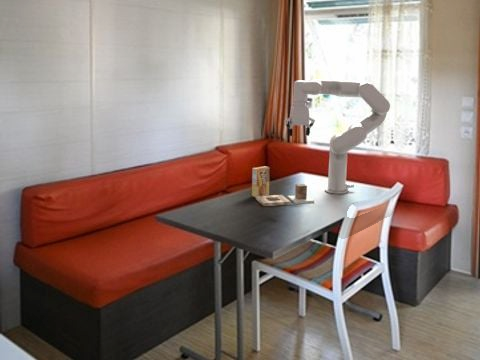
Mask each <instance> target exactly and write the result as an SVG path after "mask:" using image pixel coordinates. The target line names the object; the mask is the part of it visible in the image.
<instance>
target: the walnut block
mask: <svg viewBox="0 0 480 360" xmlns="http://www.w3.org/2000/svg"><path fill="white" fill-rule="evenodd" d="M307 190H308V186H307V184H305V183H296V184H295V190H294V192H295V194H294V195H295V198H297V199H298V200H299V199H306V198H307V196H308V194H307V192H308V191H307Z"/></svg>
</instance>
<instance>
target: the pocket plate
mask: <svg viewBox="0 0 480 360" xmlns="http://www.w3.org/2000/svg"><path fill="white" fill-rule="evenodd" d="M255 200H256V201H257V202H258V203H259V204H261V205H262V207H270V206H271V207H272V206H274V207H276V206H289V205H291V204H292V203H291V202H292V201H291V200H290V199H289V198H286V197H285V196H284V195H283V194H273V195H270V194H269V195H267V196H256V197H255Z"/></svg>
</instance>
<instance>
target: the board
mask: <svg viewBox="0 0 480 360" xmlns="http://www.w3.org/2000/svg"><path fill="white" fill-rule="evenodd" d="M287 199H288V200H289V201H290V202H293V203H294V204H295V205H296V204H312V203H315V200H314V199H312V198H311V197H309V196H308V195H307V198H306V199H299V200H298V199H297V198H295V194H294V195H287Z"/></svg>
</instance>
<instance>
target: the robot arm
mask: <svg viewBox="0 0 480 360" xmlns="http://www.w3.org/2000/svg"><path fill="white" fill-rule="evenodd" d="M308 95H311V96H318V95H329V96H330V95H331V96H335V97H340V98H358V99H359V98H361V99H362V100H363V101H364V102H365V103H366V105H368V106H369V108H371V111H369V113H368V114H367V115H366V116H364V117H363V118H361V119H360V120H358V121H356V122H355V123H353V124H351V125H350V126H348V129H347V130H346V131H345V132H343V133H342V134H341V133H337V134H334V135H333V136H332V137H331V138H330V140H329V161H328V180H327V181H328V182H327V187H325V188H324V191H325V192H326V193H329V194H334V195H335V194H336V195H337V194H338V195H341V194H342V195H343V194H347V193H348V192H349V189H351V188H354V187H355V185H354V183H352V184H351V183H347V165H348V152H349V151H351V150H353V149H354V148H356V147H357V146H360V145H361V144H362V143H363V142H364V141H365V140H366V139H367V137H368V135H369V134H371V133H372V132H373V131H375V130H376V129H378V128H379V127H380V126H381V125H382V124H384V123H383V122H385V120H386V118H387V115H388V112H389V111H390V109H391V104H390V102H389V100H388V99H387V98H386V97H385V96H384V94H382V93H381V92H380V91H379V90H378V89H377V88H376V87H375V85H374V84H372V83H371V82H369V81H365V80H363V81H361V80H341V79H339V80H325V79H324V80H323V79H314V80H311V81H307V80H295V81H294V82H293V95H292V96H293V99H292V101H293V102H292V106H291V107H290V113H289V117H288V118H286V119H285V120H283V122H284V125H285V126H286V127H287V129H288V135H289V136H290V137H293V131H294V130H293V128H294V126H306V127H305V135H306V136H308V137H309V136H310V134H311V128H312V127H313V126H314V124H315V122H316V120H315V119H314V118H312V117H310V109H309V105H310V101H308ZM288 122H289V123H288Z"/></svg>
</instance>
